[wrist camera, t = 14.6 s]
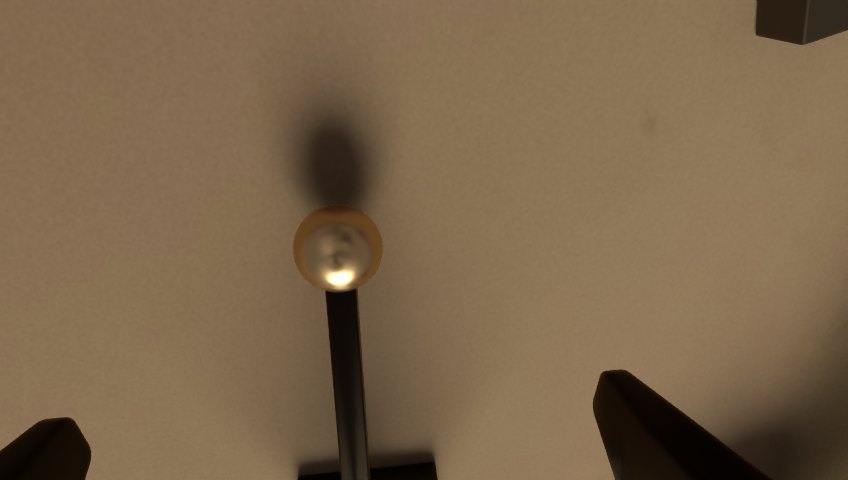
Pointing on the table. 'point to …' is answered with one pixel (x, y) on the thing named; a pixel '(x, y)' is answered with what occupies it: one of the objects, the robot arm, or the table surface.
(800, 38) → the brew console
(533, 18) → the table surface
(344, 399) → the power lever
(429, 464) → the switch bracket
